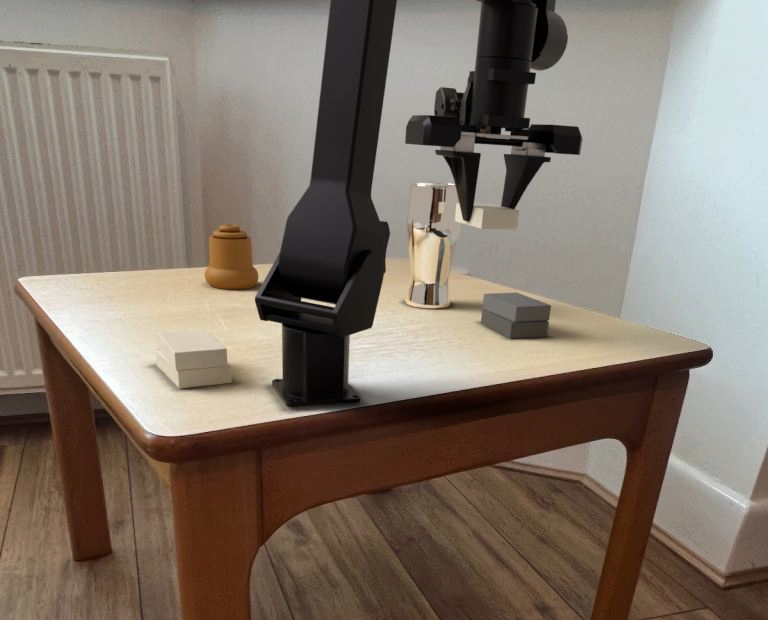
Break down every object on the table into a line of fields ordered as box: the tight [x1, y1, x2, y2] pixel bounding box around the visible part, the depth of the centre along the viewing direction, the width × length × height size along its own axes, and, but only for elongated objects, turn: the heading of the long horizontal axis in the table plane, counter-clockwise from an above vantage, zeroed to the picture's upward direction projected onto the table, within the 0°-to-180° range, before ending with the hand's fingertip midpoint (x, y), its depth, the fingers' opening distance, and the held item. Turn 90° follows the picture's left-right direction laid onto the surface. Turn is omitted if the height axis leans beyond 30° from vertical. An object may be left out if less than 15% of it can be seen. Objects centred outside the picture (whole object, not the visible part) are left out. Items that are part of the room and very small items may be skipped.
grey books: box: [480, 292, 552, 339], centre depth 90 cm, size 8×5×4 cm
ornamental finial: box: [204, 223, 259, 290], centre depth 104 cm, size 8×8×8 cm
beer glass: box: [405, 181, 462, 310], centre depth 98 cm, size 7×7×15 cm
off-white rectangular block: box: [455, 203, 520, 231], centre depth 84 cm, size 7×4×2 cm, turn 19°
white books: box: [154, 328, 233, 390], centre depth 68 cm, size 8×5×3 cm, turn 30°
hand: (485, 221), depth 84 cm, fingers closed on off-white rectangular block, 4 cm apart
